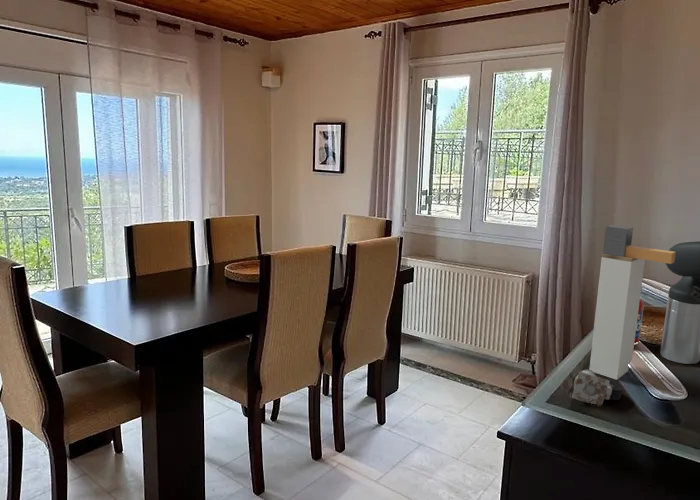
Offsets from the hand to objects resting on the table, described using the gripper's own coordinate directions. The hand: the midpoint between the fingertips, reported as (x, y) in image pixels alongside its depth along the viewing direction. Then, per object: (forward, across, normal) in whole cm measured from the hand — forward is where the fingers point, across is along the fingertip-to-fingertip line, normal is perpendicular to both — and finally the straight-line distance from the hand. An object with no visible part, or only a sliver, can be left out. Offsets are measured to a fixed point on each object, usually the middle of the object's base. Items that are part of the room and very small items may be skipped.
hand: (696, 285), depth 110 cm
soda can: (+5, -29, +37) cm, 47 cm away
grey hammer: (+14, -5, +5) cm, 15 cm away
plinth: (+1, -8, +34) cm, 35 cm away
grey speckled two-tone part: (-2, +10, +33) cm, 34 cm away
